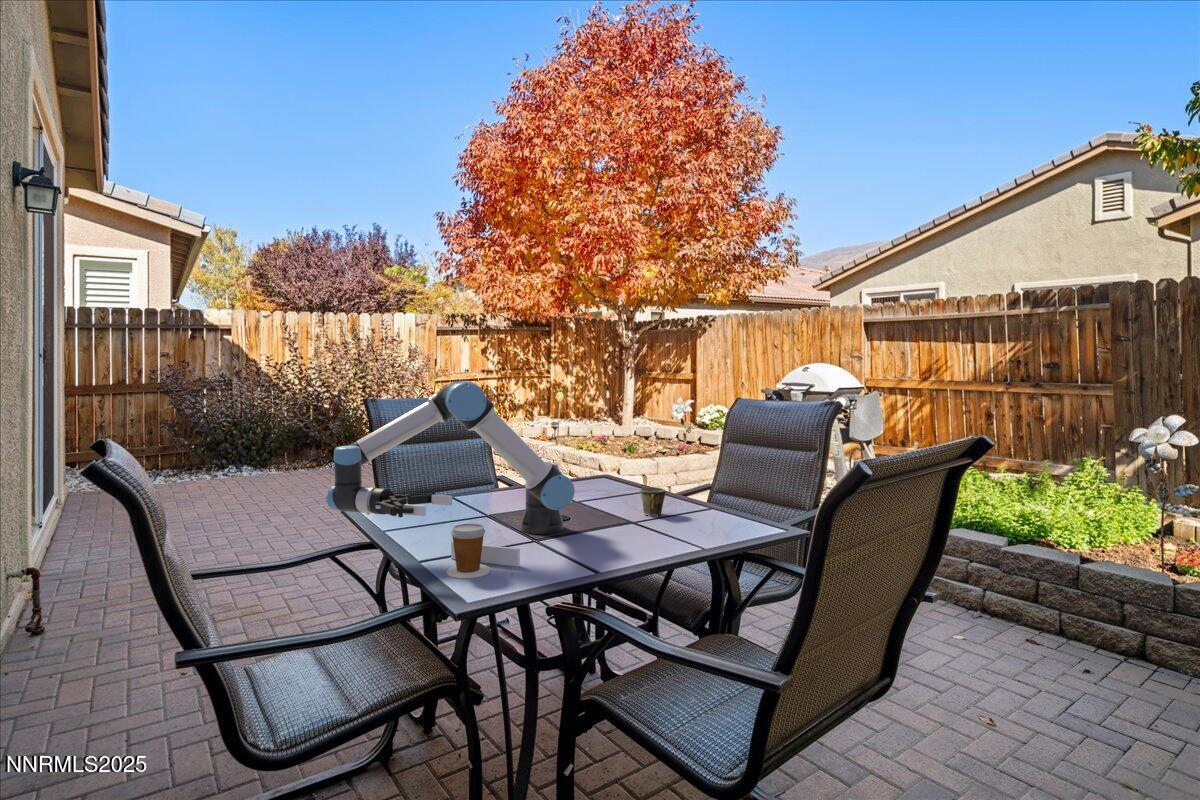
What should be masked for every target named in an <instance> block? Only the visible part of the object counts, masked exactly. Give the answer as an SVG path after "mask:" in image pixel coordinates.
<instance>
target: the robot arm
mask: <svg viewBox="0 0 1200 800" xmlns="http://www.w3.org/2000/svg"><path fill="white" fill-rule="evenodd" d="M453 418H455V420H456V421H458V422H459V423H460V425H462V426H463V427H464V428H465V429H466V430H467V431H474V432H476V433H477V434H478V435H479V436H480V437H481V439H483V440H484V441H485V442H486V443H487V444H488V445H489V446H490V447H491V448H492V449H493V450H494V451H495V453H497V454H498V455H499V456H500V457H501V458H502V459H503V460H504V461H505V462H506V463H507V464H508V465H509V466H510V467H511V468H512V470H514V471H516V473H517V474H519V475H520V477H521V478H522V479H523V480H524V481H525V486H524V487H525V507H524V508H525V509H524V512H523V515H522V518H521V521H520V530H521V531H522V532H524V533H525V534H526V533H527V534H535V535H550V534H555V533H559V532H562V531H563V530H564V519H563V517H562V513H561V510H563V509H565V508H567V507H568V506H569V505H570V504H571V503H572V501H573V499H574V496H575V485H574V483H573V482H572V480H571V478H569V476H567V475H564V473H562V472H561V471H560V469H559V465H558V464H555V463H552V462H551V461H543V459H542V458H541V457H540V456H539V455H538V454H537V453H536V452H535V451H534V450H533V449H532V448H531V447H530V446H529V445H528V444H527V443H526V442H525V441H524V439H522V438H521V437H520V436H519V435H518V434H517V433H516V432H515V431H514V430H513V428H511V427H510V426H509V424H507V423H506V421H504V420H503V418H501V416H499V415H498V414H497V413H496V412H495V403H493V402H492V401H491V400H490V399H489V398H488V397H487V395H486V394H485V392H484V391H483V389H482V388H481V387H480V386H479V385H477V384H476V383H474V382H471V381H467V380H466V381H463V380H457V381H453V382H450V383H448V384H447V385H446V386H444V387H443V388H442V389H439V390H438V391H437V392H435V393H433V394H432V395H430V396H429V397H427V400H426V402H424V403H422V404H421V405H419V406H417V407H415V408H413V409H411V410H409V411H408V412H406V413H405V414H403V415H401V416H399V417H397V418H395V419H394V420H392V421H390V422H388V423H387V424H385V425H382V426H381V427H380V428H377V429H376V430H374V431H373V432H370V433H369V434H367V435H365V436H363V437H361V438H360V439H358V440H356V441H355V442H353V443H351V444H349V445H342V446H336V447H335V448H334V450H333V466H334V467H333V469H334V485H333V486H331V487H330V488H329V489H328V491H327V495H326V504H327V506H328V507H329V508H330V509H331V510H332V511H340V512H343V513H344V512H345V513H346V512H347V513H349V512H350V513H365V514H366V515H367V516H370V515H371V514H374V515H388V516H392V517H396V516H397V515H398V518H403V517H404V515H407V516H420V517H425V516H427V515H426V512H427V510H426V509H427V508H426V505H424V504H431V505H440V506H441V505H442V506H453V496H452V495H444V494H436V493H437V492H435V491H431V492H424V493H423V492H421V493H406V492H404V493H401V494H400V493H398V494H397V493H396V494H394V493H393V490H391V489H390V488H381V487H379V488H378V487H369V486H362V484H363V483H362V481H363V480H362V467H363V466H364V465H365V464H367V463H368V462H370V461H372V460H373V459H375V458H377V457H379V456H381V455H382V454H384V453H385V452H388V451H390V450H391V449H393V448H395V447H396V446H398V445H400V444H402V443H404V442H405V441H407V440H409V439H410V438H413V437H415V436H416V435H417V434H420V433H421V432H423V431H425V430H427V429H428V428H430V427H432V426H434V425H436V424H437V423H439V422H440V423H445V422H447V421H448V420H451V419H453ZM422 504H423V505H422Z"/></svg>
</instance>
